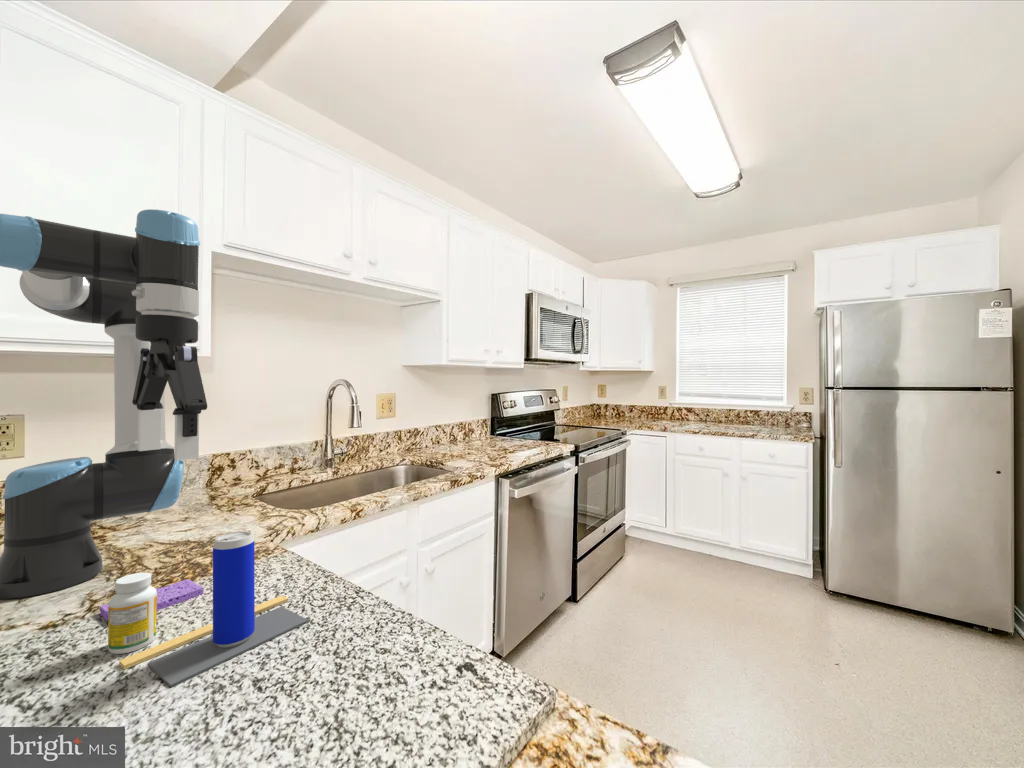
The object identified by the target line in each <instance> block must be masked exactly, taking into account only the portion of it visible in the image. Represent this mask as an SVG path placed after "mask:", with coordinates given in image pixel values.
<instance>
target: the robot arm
mask: <svg viewBox="0 0 1024 768" xmlns="http://www.w3.org/2000/svg"><path fill="white" fill-rule="evenodd" d="M134 232H135V237H134V236H128V235H123V234H120V233H119V234H117V233H113V232H107V231H103V230H102V231H101V230H95V229H89V228H85V227H80V226H75V225H70V224H64V223H60V222H55V221H49V220H44V219H40V218H39V219H38V218H34V217H32V216H27V215H25V216H23V215H22V216H21V215H15V214H7V213H0V267H3V268H8V269H15V270H18V271H21V272H22V273H21V275H20V278H19V288H20V290H21V292H22V294H23V296H24V298H25V299H27V300H28V301H29V303H31V304H33V306H35V307H37V308H39V309H41V310H43V311H45V312H47V313H49V314H51V315H54V316H57V317H60V318H64V319H67V320H70V321H74V322H80V323H85V324H86V323H87V324H97V325H100V324H101V325H104V333H105V334H106V335H107V336H108V337H110V338H111V339H112V340H113V365H114V367H113V369H114V370H113V375H114V378H113V380H114V383H113V384H114V385H113V386H114V387H113V391H114V445H113V447H112V448H110V449H109V450H108V451H107V452H106V453H105V455H104V456H105V457H104V458H105V462H97V463H93V460H92V459H91V457H89V456H80V457H71V458H64V459H58V460H53V461H47V462H42V463H41V462H40V463H37V464H33V465H28V466H24V467H21V468H18V469H15V470H13V471H11V472H10V473H9V474H8V475H7V476H6V477H5V480H4V481H5V484H4V493H3V495H2V499H3V500H4V521H3V522H4V523H3V524H4V525H3V526H4V527H3V551H2V554H1V556H0V600H4V599H5V600H7V599H8V600H9V599H18V598H19V599H20V598H26V597H32V596H37V595H42V594H43V595H45V594H47V593H51V592H55V591H59V590H63V589H66V588H69V587H73V586H77V585H78V584H81V583H83V582H86V581H88V580H91V579H92V577H93V578H94V577H96V576H97V575H96V574H98V573H99V572H100V571H101V570H102V571H103V557H102V556H101V553H100V550H99V549H98V547H97V544H96V543H95V541H94V539H93V536H92V530H91V528H92V526H91V525H92V521H99V520H106V519H112V518H117V517H118V518H119V517H125V516H131V515H137V514H144V513H152V512H155V511H160V510H164V509H168V508H172V507H173V506H174V505H175V504H176V502H177V501H178V500H179V497H180V494H181V489H182V485H183V479H184V478H183V477H184V469H185V468H184V467H185V465H184V460H193V459H199V457H200V456H199V447H200V446H199V438H200V437H199V435H200V433H199V432H200V426H199V425H200V415H201V414H202V411H205V410H207V409H208V402H207V398H206V392H205V388H204V383H203V379H202V375H201V371H200V370H201V369H200V367H199V361H198V360H199V359H198V348H197V347H196V346H187V344H196V343H197V342H198V341H199V321H197V319H195V318H196V317H198V316H199V315H200V314H199V313H200V311H199V310H200V309H199V307H200V298H199V297H200V291H199V257H200V255H199V251H200V249H199V248H200V247H199V246H200V245H201V241H200V240H199V239H200V238H199V228H198V225H197V223H196V221H194V220H193V219H191V218H190V217H188V216H186V215H184V214H180V213H176V212H173V211H168V210H163V209H143V210H141V211H139V212H138V213H137V216H136V225H135V228H134ZM167 383H168V386H169V389H170V392H171V394H172V399H173V401H174V404H175V406H176V407H175V408H174V410H173V411H172V415H173V416H174V446H172V445H171V444H170V443H168V442H167V440H166V410H165V409H166V408H165V402H166V401H165V390H166V386H167ZM102 571H101V572H102ZM101 572H100V573H101ZM100 573H99V574H100ZM99 574H98V575H99ZM95 575H96V576H95ZM90 578H91V579H90Z"/></svg>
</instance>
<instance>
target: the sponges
mask: <svg viewBox="0 0 1024 768" xmlns="http://www.w3.org/2000/svg"><path fill="white" fill-rule="evenodd" d="M155 589H156V591H157V611H161V610H164V609H165V608H169V607H172V606H174V605H178V604H180V603H184V602H186V600H187V601H189V599H190V600H192V599H191V598H193V599H195V598H198V597H200V596H199V595H201V596H203V595H204V592H205V591H204V586H202V585H200V584H197V583H196V582H193V581H192V580H191V579H189V578H187V579H183V580H181V581H179V582H178V581H177V582H175V583H172V584H168V585H167V586H162V587H158V588H155ZM202 594H203V595H202ZM197 596H198V597H197ZM194 597H195V598H194ZM183 601H184V602H183ZM177 603H178V604H177ZM108 605H109V603H106V604H103V605H100V606H99V612H100V616H101V617H103V618H104V619H105V620H107V621H108Z"/></svg>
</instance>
